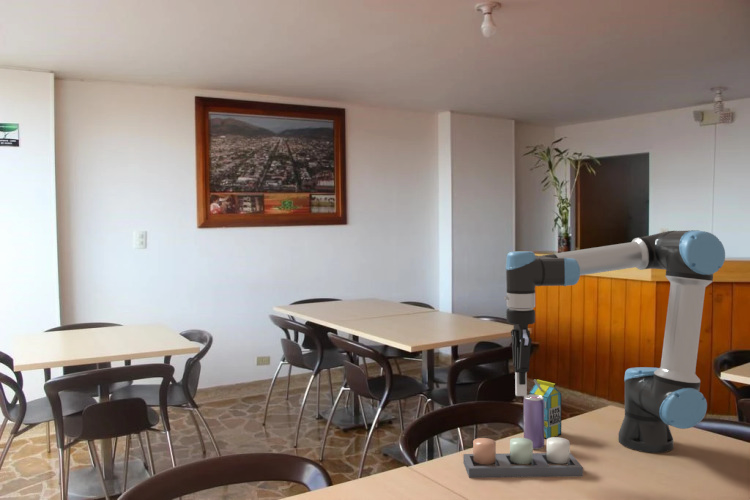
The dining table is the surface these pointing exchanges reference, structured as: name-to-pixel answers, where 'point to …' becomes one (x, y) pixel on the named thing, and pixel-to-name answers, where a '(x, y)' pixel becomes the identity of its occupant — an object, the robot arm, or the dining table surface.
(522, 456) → the sage button
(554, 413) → the carton
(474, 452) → the terracotta button
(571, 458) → the dark grey flat tray
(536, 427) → the beverage can
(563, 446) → the ivory button
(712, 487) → the dining table surface
